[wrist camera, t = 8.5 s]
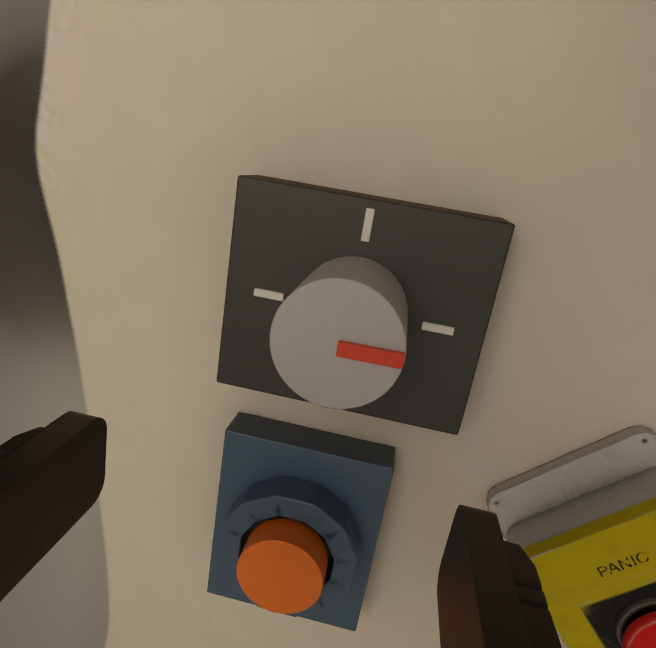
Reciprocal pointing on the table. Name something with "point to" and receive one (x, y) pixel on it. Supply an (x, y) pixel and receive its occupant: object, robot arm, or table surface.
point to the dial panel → (384, 248)
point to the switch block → (302, 505)
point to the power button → (283, 566)
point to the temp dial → (342, 334)
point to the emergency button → (591, 538)
